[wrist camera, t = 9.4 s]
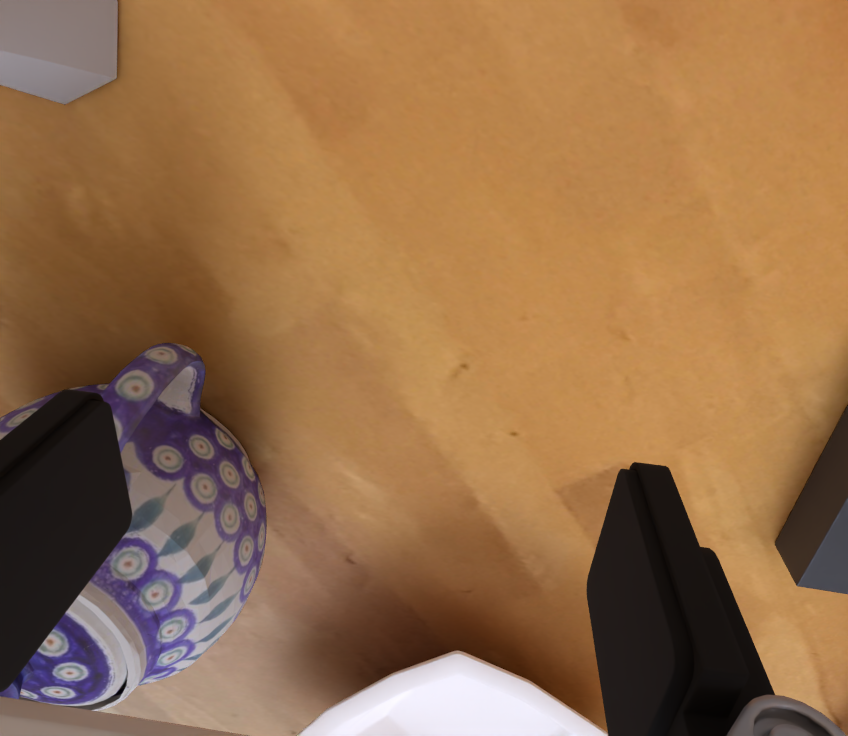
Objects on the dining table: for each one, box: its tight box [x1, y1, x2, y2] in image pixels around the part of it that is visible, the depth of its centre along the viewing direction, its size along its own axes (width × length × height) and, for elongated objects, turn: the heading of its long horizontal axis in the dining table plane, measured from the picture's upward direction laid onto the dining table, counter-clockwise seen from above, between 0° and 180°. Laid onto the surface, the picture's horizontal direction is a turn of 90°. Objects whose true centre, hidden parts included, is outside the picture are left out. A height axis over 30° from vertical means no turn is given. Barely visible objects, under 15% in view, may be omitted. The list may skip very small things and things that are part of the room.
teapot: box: [0, 343, 267, 711], centre depth 30 cm, size 25×15×15 cm, turn 149°
